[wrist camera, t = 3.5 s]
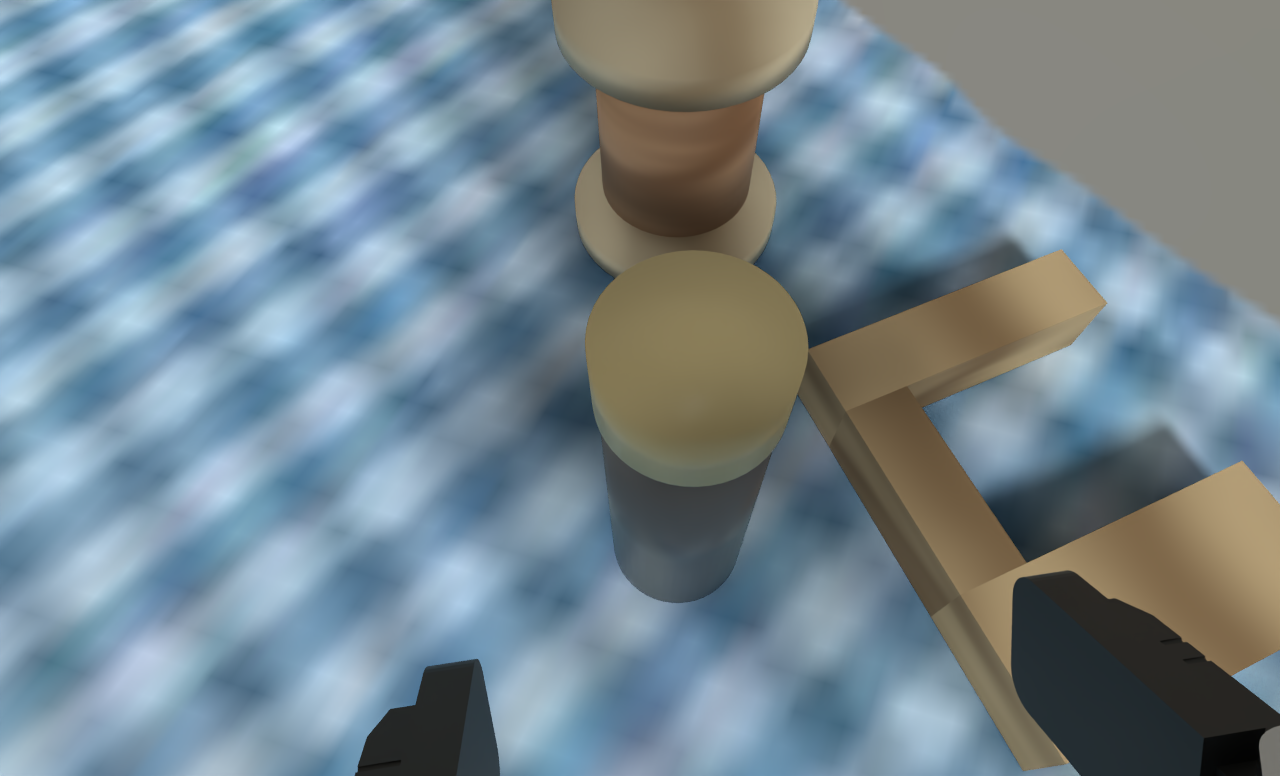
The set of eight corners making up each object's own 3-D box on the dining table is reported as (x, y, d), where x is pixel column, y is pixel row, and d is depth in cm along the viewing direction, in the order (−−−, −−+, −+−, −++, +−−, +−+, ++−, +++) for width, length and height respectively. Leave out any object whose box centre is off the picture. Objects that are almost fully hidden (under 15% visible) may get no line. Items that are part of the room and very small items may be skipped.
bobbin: (622, 322, 27) (612, 113, 19) (548, 176, 30) (514, -56, 22) (807, 253, 28) (869, 31, 21) (718, 120, 32) (742, -118, 24)
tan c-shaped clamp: (1023, 771, 21) (1066, 763, 19) (794, 388, 26) (807, 349, 24) (1297, 625, 22) (1365, 604, 20) (1029, 293, 28) (1061, 249, 26)
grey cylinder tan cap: (642, 628, 22) (638, 476, 13) (590, 508, 24) (552, 292, 14) (765, 573, 23) (850, 389, 14) (706, 460, 25) (744, 224, 15)
